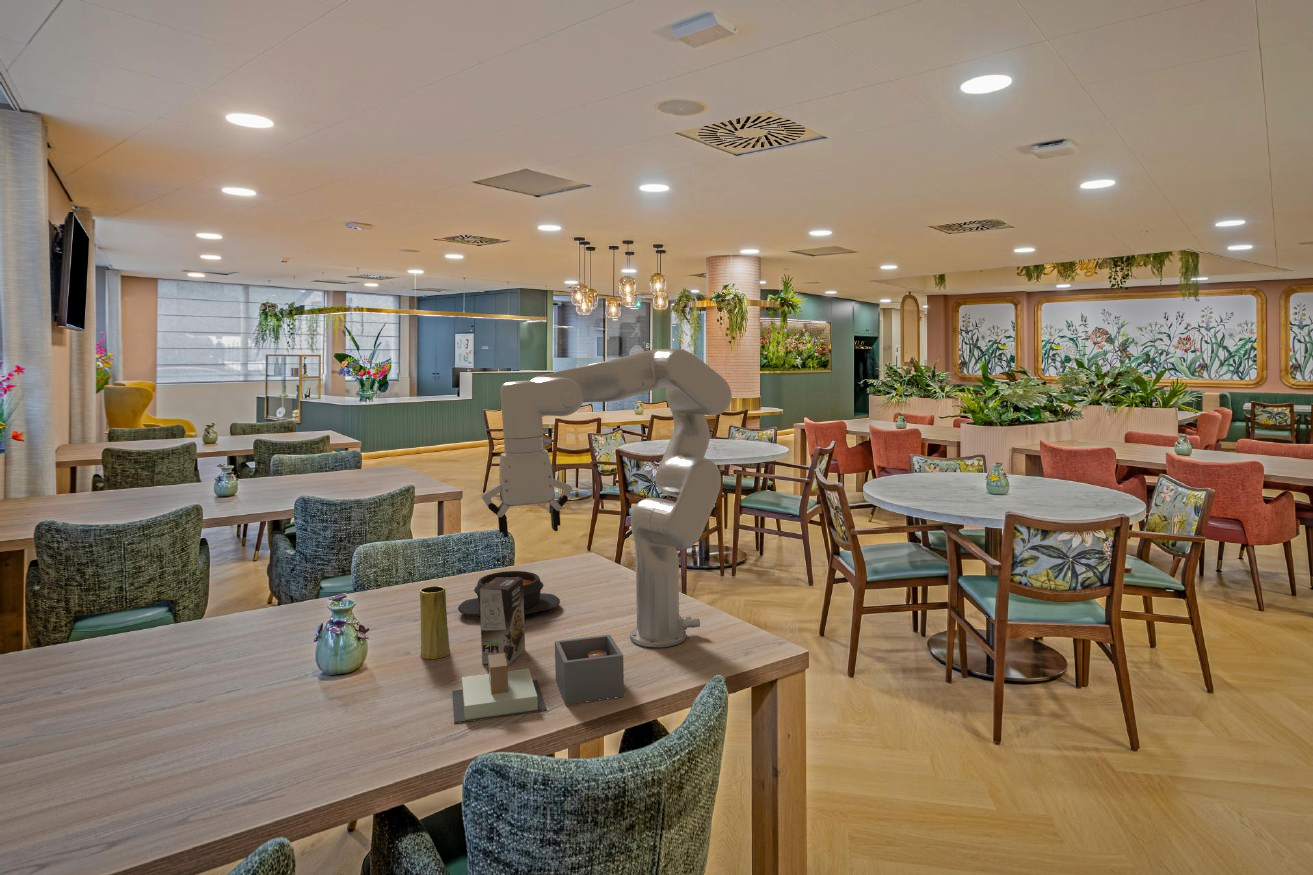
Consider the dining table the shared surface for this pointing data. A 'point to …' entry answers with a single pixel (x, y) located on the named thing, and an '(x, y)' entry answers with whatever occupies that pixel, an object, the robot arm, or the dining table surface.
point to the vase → (434, 623)
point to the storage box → (589, 669)
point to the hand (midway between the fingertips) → (530, 532)
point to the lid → (498, 691)
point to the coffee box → (502, 618)
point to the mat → (460, 716)
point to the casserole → (531, 594)
